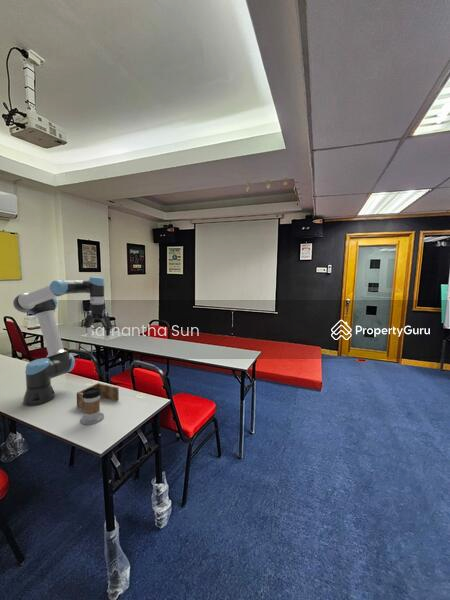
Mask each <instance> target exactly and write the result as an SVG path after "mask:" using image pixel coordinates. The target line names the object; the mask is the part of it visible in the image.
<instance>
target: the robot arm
mask: <svg viewBox="0 0 450 600" xmlns="http://www.w3.org/2000/svg"><path fill="white" fill-rule="evenodd" d="M69 294H89V303H90V306H89V309H90V310H89V311H87V312H86V317H85V320H84V322H83V327H85V328H86V329H85V330H86V339H87V340H90V339H92V338H93V334H92V332H93V331H92V329H93V327H92V325H93V323H94V322H95V321H99V322H100V323H101V325H102V326H103V328H104V330H103V331H104V335H103V337H104V342H109V341H110V335H111V334H110V332H111V330H112V329H113V325H112V322H111V320H110V317H109V312H104V311H105V308H106V307H105V303H106V302H105V279H104V277H97V276H90V277H89V280H87V279H86V280H85V279H74V280H73V279H58V280H57V279H55V280H52V281H51V283H50V284H49V285H47V286H44V287H41V288H39V289H36V290H34V291H31V292H25V293H21V294H18V295H17V296H16V297H14V299H13V302H12V303H13V307H14V309H15V310H17V311H18V312H20V313H23V314H29V313H32V314H33V316H34V317H35V318H37V320H38V324H39V327H40V330H41V333H42V337H43V340H44V344H45V347H46V350H47V351H46V352H47V353H48V354H47V355H46V357H41V358H38V359H37V358H36V359H34V360H31V361H29V362H28V363H27V364H26V366H25V372H24V373H25V381H26V383H25V384H26V390H25V393H24V396H23V398H22V402H23V404H24V405H25V406H29V407H30V406H39V405H43V404H46V403H48V402H50V401H53V399H54V398H55V397H56V396H55V395H56V394H55V391H54V388H53V386H52V385H51V384H52V381H51V380H52V379H54V378H57V377H59V376H63V375H65V374H67V373H70V372H71V371H73V370H74V367H75V366H76V359H75V357H74V355H72V354H71V353H69V352H68V350H66V349H64V345H63V342H62V339H61V338H62V337H61V335H60V332H59V329H58V326H57V325H58V324H57V322H56V319H55V312H56V309H57V307H58V301H57V298H58V297H62V296H65V295H69Z"/></svg>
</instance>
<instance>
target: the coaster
mask: <svg viewBox="0 0 450 600" xmlns="http://www.w3.org/2000/svg"><path fill="white" fill-rule="evenodd" d="M104 418H105V414H104V413H103V412H99V417H98V418H97V419H96V420H93V421H87V420H86V414H85V415H83V416H81V418H80V421H79V422H80V424H81V425H84V426H90V425H95V424H98V423H100V422H101V421H103V420H104Z"/></svg>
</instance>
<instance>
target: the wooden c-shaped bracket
mask: <svg viewBox="0 0 450 600" xmlns="http://www.w3.org/2000/svg"><path fill="white" fill-rule="evenodd" d="M89 388H100V392H101V394H100V398H104V399H109V400H111V401H115V402H118V401H119V400H120V398H119V393H120V392H119V387H118V386H115V385H114V386H113V385H109V384H104V383H101V382H97V383H95V384H92V385H91V386H89V387H86V388H84V389H82V390H80V391H78V392H76V407H78V408H81V409H84V410H85V408H84V398H83V392H84V391H85V390H86V389H89ZM100 409H101V408H100V407H99V412H100ZM100 413H101V412H100Z"/></svg>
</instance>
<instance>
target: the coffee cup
mask: <svg viewBox="0 0 450 600" xmlns="http://www.w3.org/2000/svg"><path fill="white" fill-rule="evenodd" d="M85 389H86V388H85ZM100 394H101V392H100V388H89V389H86V390H85V391H84V392H83V398H84V408H85V409H84V408H83V409H84V414H85V415H86V420H87V421H93V420H96V419H97V418H98V417H99V407H100V405H101V397H100Z"/></svg>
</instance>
